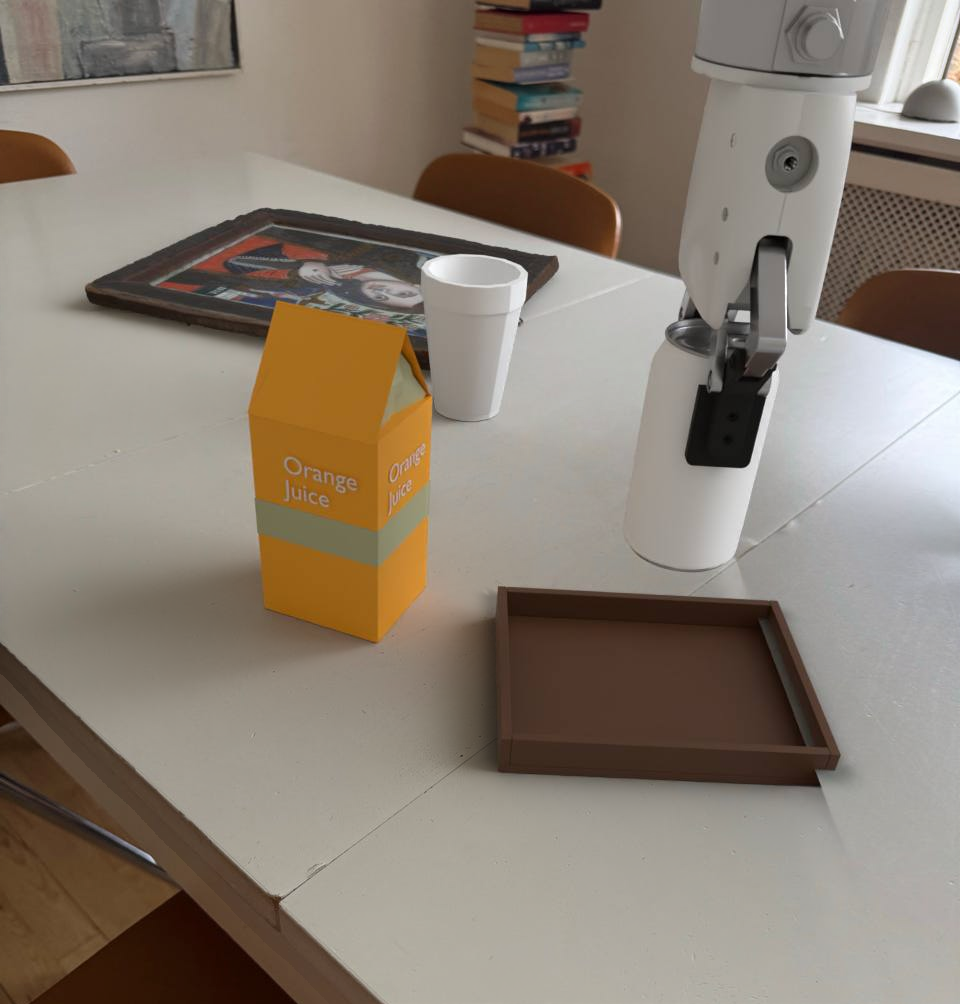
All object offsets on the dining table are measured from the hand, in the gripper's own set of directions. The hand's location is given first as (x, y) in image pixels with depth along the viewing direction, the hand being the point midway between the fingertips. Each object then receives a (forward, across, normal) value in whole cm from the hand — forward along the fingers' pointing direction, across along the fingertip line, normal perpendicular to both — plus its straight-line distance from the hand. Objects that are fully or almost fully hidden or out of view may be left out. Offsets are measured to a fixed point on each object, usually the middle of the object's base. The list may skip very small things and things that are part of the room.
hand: (703, 429), depth 52 cm
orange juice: (+18, +9, +20) cm, 29 cm away
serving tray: (+18, 0, 0) cm, 18 cm away
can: (+7, 0, 0) cm, 7 cm away
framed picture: (+18, +73, +27) cm, 80 cm away
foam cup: (+18, +42, +12) cm, 47 cm away
